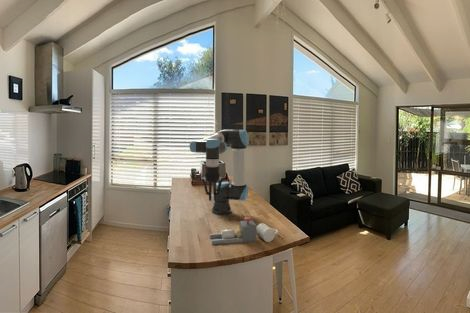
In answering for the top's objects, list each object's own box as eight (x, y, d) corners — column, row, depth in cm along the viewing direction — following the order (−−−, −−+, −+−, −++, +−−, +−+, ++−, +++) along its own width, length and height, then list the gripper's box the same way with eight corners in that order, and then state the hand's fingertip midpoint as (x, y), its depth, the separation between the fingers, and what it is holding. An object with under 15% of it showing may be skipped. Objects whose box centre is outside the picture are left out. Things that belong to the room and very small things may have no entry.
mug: (263, 243, 158) (263, 229, 157) (255, 236, 167) (255, 224, 166) (280, 240, 163) (281, 227, 162) (272, 233, 172) (272, 221, 171)
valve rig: (209, 238, 162) (210, 217, 160) (251, 236, 167) (252, 215, 165) (211, 246, 152) (212, 223, 150) (256, 243, 157) (257, 220, 156)
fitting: (221, 239, 161) (221, 229, 162) (232, 238, 162) (232, 228, 163) (222, 240, 155) (222, 230, 156) (234, 239, 157) (234, 229, 158)
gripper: (201, 167, 149) (201, 208, 152) (224, 166, 152) (224, 207, 155) (200, 165, 157) (200, 204, 160) (222, 164, 159) (222, 203, 163)
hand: (212, 205), depth 157 cm, fingers closed
